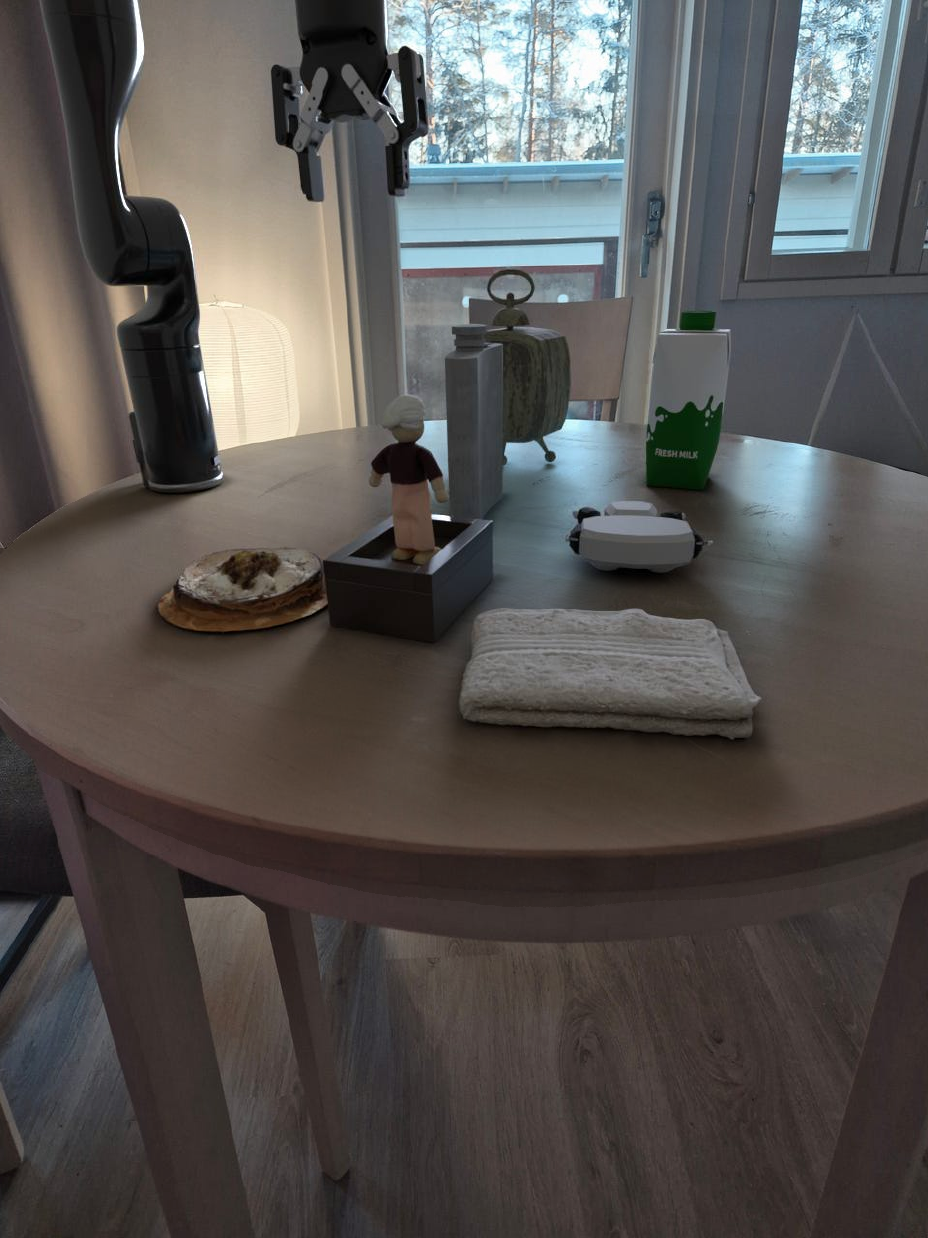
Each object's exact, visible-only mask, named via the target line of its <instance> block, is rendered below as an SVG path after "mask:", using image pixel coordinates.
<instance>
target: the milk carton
mask: <svg viewBox="0 0 928 1238" xmlns="http://www.w3.org/2000/svg"><path fill="white" fill-rule="evenodd" d="M716 317H717V312H716V310H683V311H681V312H680V319H679V327H676V328H666V329H664V330H661V331H659V333H658V334H657V336H656V344H655V347H654V351H653V356H652V362H651V364H653V365H652V372H651V379H650V380H651V381H650V388H649V389H650V391H649V402H648V413H647V423H646V434H645V435H646V436H645V485H646V486H649V487H650V486H651V487H661V488H662V487H663V488H672V489H673V488H674V489H675V488H676V489H686V490H698V491H704V490H705V486H706V484H707V481H708V478H709V476H710V472H711V469H712V466H713V463H714V460H715V457H716V454H717V450H718V447H719V445H720V444H719V443H720V439H721V438H720V437H721V431H722V425H723V418H724V410H725V403H726V396H727V395H726V394H727V389H728V388H727V387H728V380H729V370H730V364H731V363H730V362H731V353H732V331H731V329H721V328H715V325H716Z"/></svg>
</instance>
